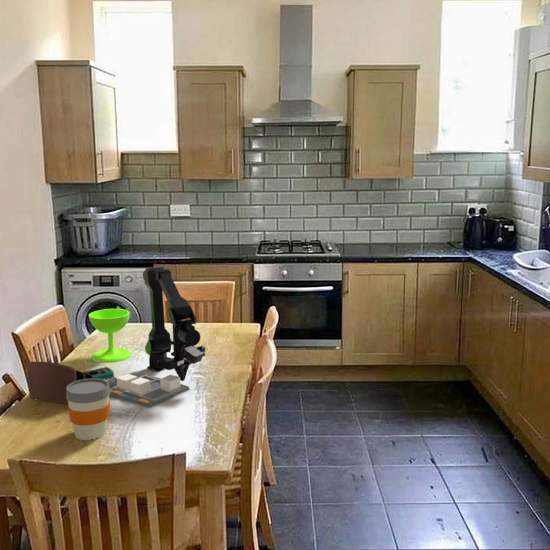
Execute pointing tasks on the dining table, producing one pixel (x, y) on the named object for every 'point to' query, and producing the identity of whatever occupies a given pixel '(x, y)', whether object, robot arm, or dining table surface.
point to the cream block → (140, 386)
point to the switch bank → (148, 393)
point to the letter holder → (52, 381)
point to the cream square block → (170, 383)
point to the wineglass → (110, 333)
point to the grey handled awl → (112, 381)
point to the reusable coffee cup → (88, 407)
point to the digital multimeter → (101, 373)
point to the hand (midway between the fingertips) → (182, 380)
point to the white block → (125, 381)
